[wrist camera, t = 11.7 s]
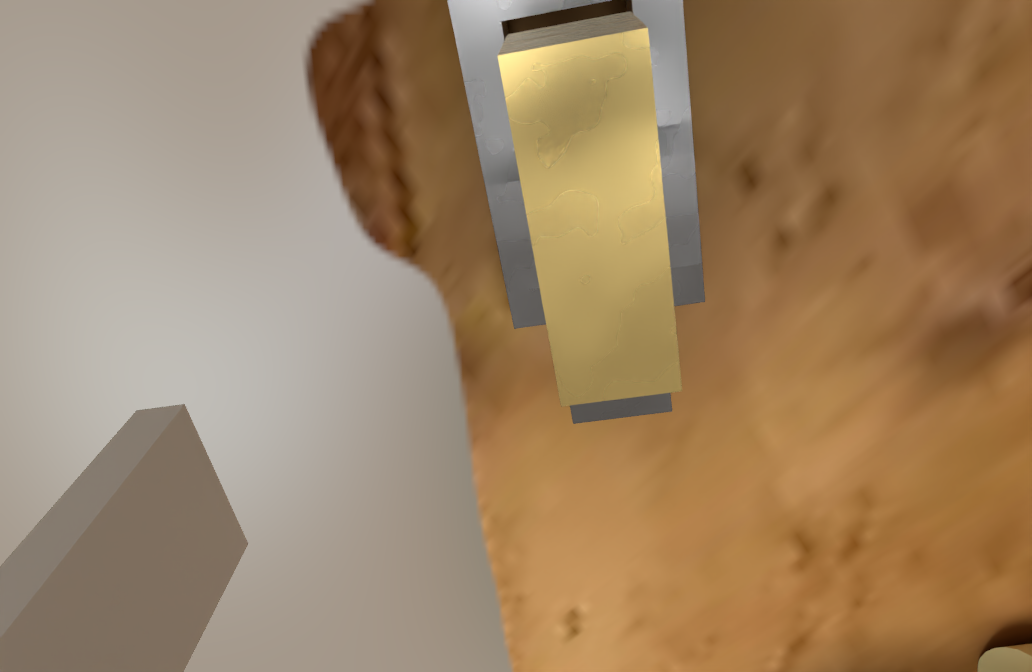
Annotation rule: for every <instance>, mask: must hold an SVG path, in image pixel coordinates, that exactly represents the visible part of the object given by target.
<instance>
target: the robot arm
mask: <svg viewBox="0 0 1032 672" xmlns="http://www.w3.org/2000/svg"><path fill="white" fill-rule="evenodd" d="M247 545H248V542H247V540H246V538H245V536H244V534H243V531H242V529H241V527H240V525H239V523H238V521H237V518H236V516H235V514H234V512H233V509H232V507H231V505H230V503H229V501H228V499H227V496H226V494H225V492H224V490H223V488H222V485H221V483H220V481H219V479H218V477H217V475H216V472H215V470H214V468H213V466H212V463H211V461H210V459H209V457H208V455H207V453H206V450H205V448H204V446H203V444H202V442H201V440H200V437H199V435H198V433H197V431H196V428H195V426H194V424H193V422H192V420H191V417H190V415H189V413H188V411H187V409H186V407H185V404H182V405H175V406H168V407H160V408H152V409H145V410H137V411H136V412H135V413H134V414H133V415H132V417H131V418H130V419H129V420H128V421H127V422H126V423H125V424H124V426H123V427H122V428H121V429H120V430H119V431H118V432H117V434H116V435H115V436H114V437H113V438H112V439H111V440H110V442H109V443H108V444H107V445H106V446H105V447H104V448H103V450H102V451H101V452H100V453H99V454H98V455H97V456H96V458H95V459H94V460H93V461H92V462H91V463H90V464H89V466H88V467H87V468H86V469H85V470H84V472H82V474H81V475H80V476H79V477H78V478H77V479H76V480H75V482H74V483H73V484H72V485H71V486H70V487H69V488H68V490H67V491H66V492H65V493H64V494H63V495H62V496H61V498H60V499H59V500H58V501H57V502H56V503H55V505H54V506H53V507H52V508H51V509H50V510H49V511H48V512H47V514H46V515H45V516H44V517H43V518H42V519H41V520H40V522H39V523H38V524H37V525H36V526H35V527H34V529H33V530H32V531H31V532H30V533H29V534H28V535H27V536H26V538H25V539H24V540H23V541H22V542H21V543H20V544H19V546H18V547H17V548H16V549H15V550H14V551H13V552H12V554H11V555H10V556H9V557H8V558H7V559H6V560H5V562H4V563H3V564H2V565H1V566H0V672H184V669H185V668H186V665H187V664H188V662H189V660H190V658H191V655H192V654H193V652H194V650H195V648H196V646H197V644H198V642H199V640H200V638H201V636H202V634H203V632H204V630H205V628H206V626H207V624H208V622H209V620H210V618H211V616H212V614H213V612H214V610H215V608H216V606H217V604H218V602H219V600H220V598H221V596H222V594H223V592H224V590H225V589H226V587H227V585H228V583H229V581H230V579H231V577H232V575H233V573H234V571H235V569H236V567H237V565H238V563H239V561H240V559H241V556H242V555H243V553H244V551H245V549H246V547H247Z"/></svg>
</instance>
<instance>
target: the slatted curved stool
mask: <svg viewBox="0 0 1032 672" xmlns="http://www.w3.org/2000/svg"><path fill="white" fill-rule="evenodd" d="M977 672H1032V643H1031V644H1023V645H1015V646H1007V647H998V648H994V649H991V650H989V651H986V652H985V653H984V654H983V655H982V656H981V657H980V659H979V662H978V671H977Z"/></svg>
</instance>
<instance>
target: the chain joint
mask: <svg viewBox="0 0 1032 672" xmlns="http://www.w3.org/2000/svg"><path fill="white" fill-rule="evenodd" d="M447 1H448V6H449V11H450V16H451V21H452V25H453V30H454V35H455V40H456V45H457V50H458V55H459V60H460V65H461V70H462V75H463V79H464V84H465V89H466V94H467V99H468V104H469V109H470V114H471V119H472V124H473V129H474V133H475V138H476V143H477V148H478V153H479V158H480V163H481V168H482V173H483V178H484V183H485V187H486V192H487V197H488V202H489V207H490V212H491V217H492V222H493V227H494V232H495V237H496V241H497V246H498V251H499V256H500V261H501V266H502V271H503V276H504V281H505V286H506V291H507V295H508V300H509V305H510V310H511V315H512V320H513V325H514V329H516V328H523V327H530V326H537V325H544V324H546V320H545V315H544V309H543V304H542V298H541V293H540V287H539V282H538V276H537V271H536V265H535V260H534V254H533V249H532V243H531V238H530V232H529V227H528V221H527V216H526V210H525V205H524V199H523V194H522V188H521V183H520V177H519V172H518V166H517V161H516V155H515V150H514V144H513V139H512V133H511V127H510V122H509V116H508V111H507V105H506V100H505V94H504V89H503V83H502V78H501V72H500V67H499V61H498V53H499V51H500V49H501V47H502V45H503V43H504V41H505V39H506V37H507V35H508V34H509V31H508V25H507V20H511V19H516V18H522V17H527V16H532V15H537V14H543V13H548V12H553V11H558V10H563V9H569V8H574V7H579V6H584V5H590V4H595V3H600V2H605V1H610V0H447ZM626 10H627V12H629V11H631V12H632V13H633V14H634V15H635V16H636V17H637V18H638V19H639V20H640V21H642V22H643V23H644V24H645V25H646V26H647V27H648V34H649V45H650V56H651V66H652V77H653V87H654V98H655V109H656V119H657V130H658V140H659V151H660V162H661V172H662V183H663V193H664V204H665V215H666V225H667V236H668V246H669V257H670V267H671V278H672V289H673V299H674V306H678V305H685V304H693V303H700V302H705V295H704V282H703V268H702V254H701V241H700V227H699V214H698V200H697V187H696V173H695V159H694V146H693V132H692V119H691V105H690V92H689V78H688V64H687V51H686V37H685V24H684V10H683V0H626ZM570 408H571V414H572V420H573V424H575V423H583V422H591V421H599V420H607V419H615V418H623V417H631V416H639V415H647V414H655V413H663V412H671V411H672V404H671V395H670V393H664V394H656V395H648V396H640V397H632V398H624V399H617V400H609V401H601V402H593V403H585V404H577V405H570Z"/></svg>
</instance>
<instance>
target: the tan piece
mask: <svg viewBox="0 0 1032 672" xmlns="http://www.w3.org/2000/svg"><path fill="white" fill-rule="evenodd" d="M498 61H499V67H500V72H501V78H502V83H503V89H504V94H505V100H506V105H507V111H508V116H509V122H510V127H511V133H512V139H513V144H514V150H515V155H516V161H517V166H518V172H519V177H520V183H521V188H522V194H523V199H524V205H525V210H526V216H527V221H528V227H529V232H530V238H531V243H532V249H533V254H534V260H535V265H536V271H537V276H538V282H539V287H540V293H541V298H542V304H543V309H544V315H545V320H546V326H547V331H548V337H549V342H550V348H551V353H552V359H553V364H554V370H555V375H556V381H557V386H558V392H559V397H560V403H561V407H562V406H570V405H577V404H585V403H593V402H601V401H609V400H617V399H624V398H632V397H640V396H648V395H656V394H664V393H672V392H679V391H682V384H681V373H680V363H679V352H678V342H677V331H676V320H675V310H674V299H673V289H672V278H671V267H670V257H669V246H668V236H667V225H666V215H665V204H664V193H663V183H662V172H661V162H660V151H659V140H658V130H657V119H656V109H655V98H654V87H653V77H652V66H651V56H650V45H649V34H648V27H647V26H646V25H645V24H644V23H643V22H642V21H640V20H639V19H638V18H637V17H636V16H635V15H634V14H633V13H632V12H631V11H629V12H623V13H618V14H613V15H607V16H602V17H597V18H592V19H586V20H581V21H576V22H570V23H565V24H560V25H555V26H549V27H544V28H539V29H533V30H528V31H523V32H518V33H512V34H508V35H507V37H506V39H505V41H504V43H503V45H502V47H501V49H500V51H499V53H498Z"/></svg>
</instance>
